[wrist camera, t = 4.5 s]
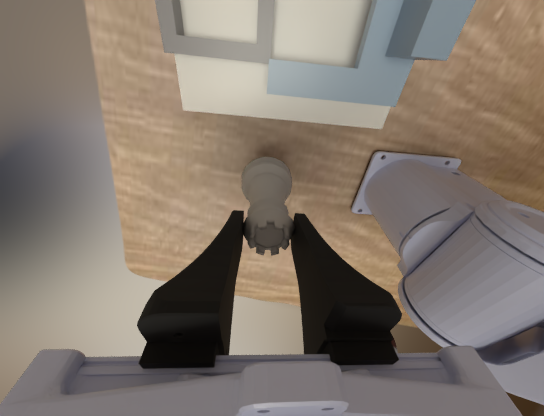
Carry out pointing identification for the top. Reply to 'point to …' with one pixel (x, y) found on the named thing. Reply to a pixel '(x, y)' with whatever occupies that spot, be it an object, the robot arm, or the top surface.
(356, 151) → the top surface
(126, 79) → the top surface
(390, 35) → the blue frame with block
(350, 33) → the cream rectangular board
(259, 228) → the rook chess piece
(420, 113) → the top surface
